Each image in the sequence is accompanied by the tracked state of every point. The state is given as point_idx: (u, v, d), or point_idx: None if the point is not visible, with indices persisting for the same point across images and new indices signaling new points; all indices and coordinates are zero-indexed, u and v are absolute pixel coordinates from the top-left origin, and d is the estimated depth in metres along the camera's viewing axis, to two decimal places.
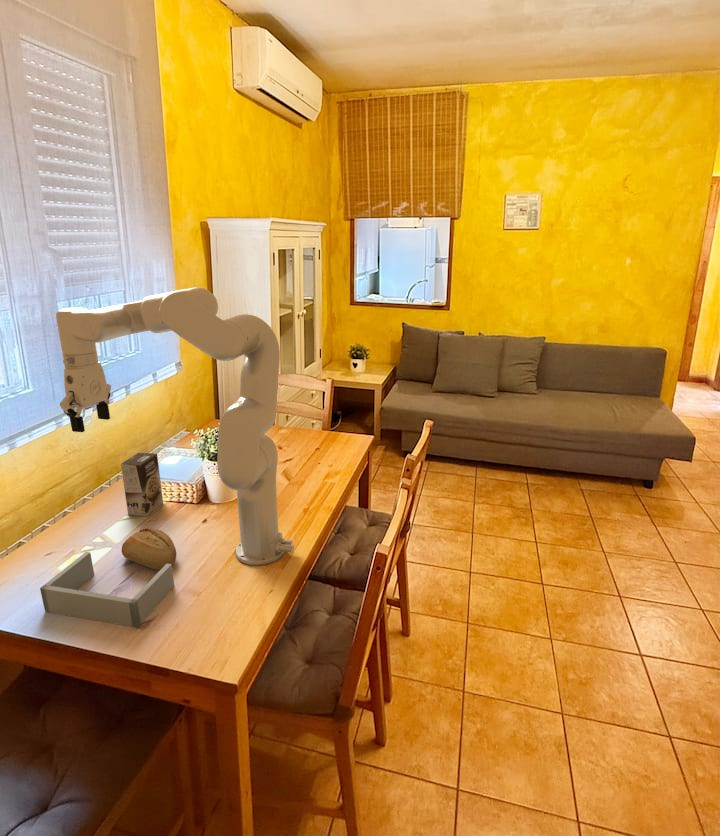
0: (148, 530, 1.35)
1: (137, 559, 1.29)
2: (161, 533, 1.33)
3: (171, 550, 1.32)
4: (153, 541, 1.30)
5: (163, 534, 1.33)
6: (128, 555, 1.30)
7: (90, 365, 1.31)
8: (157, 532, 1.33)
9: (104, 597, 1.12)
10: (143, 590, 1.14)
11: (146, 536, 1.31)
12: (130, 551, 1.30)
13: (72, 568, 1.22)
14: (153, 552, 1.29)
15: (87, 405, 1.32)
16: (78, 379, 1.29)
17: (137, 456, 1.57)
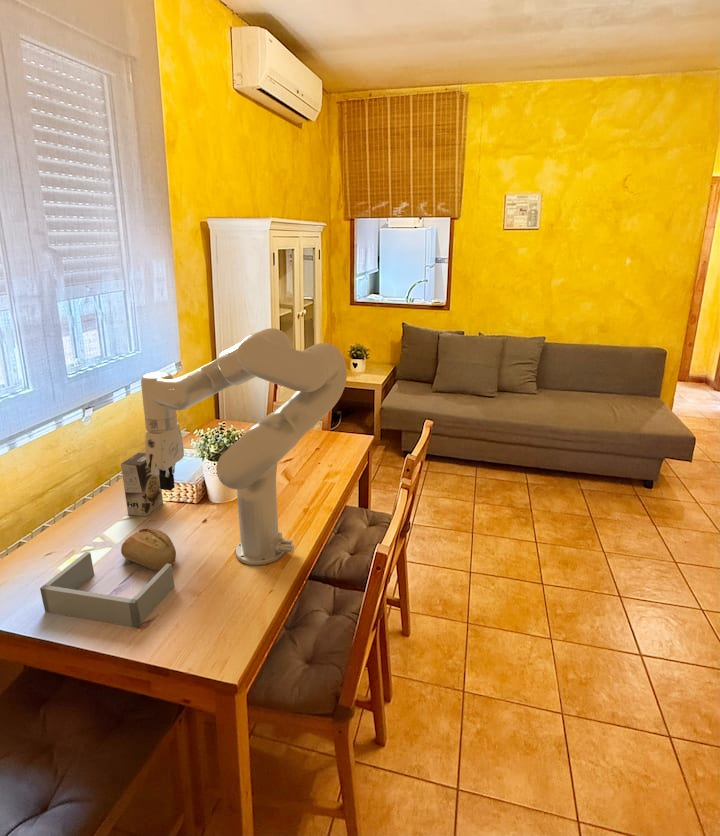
0: (148, 530, 1.35)
1: (136, 559, 1.29)
2: (161, 533, 1.33)
3: (170, 550, 1.32)
4: (152, 541, 1.30)
5: (163, 534, 1.33)
6: (127, 555, 1.30)
7: (171, 429, 1.33)
8: (157, 532, 1.33)
9: (104, 597, 1.12)
10: (143, 590, 1.14)
11: (146, 536, 1.31)
12: (129, 551, 1.30)
13: (72, 568, 1.22)
14: (152, 552, 1.29)
15: (166, 468, 1.34)
16: (159, 443, 1.31)
17: (137, 456, 1.57)
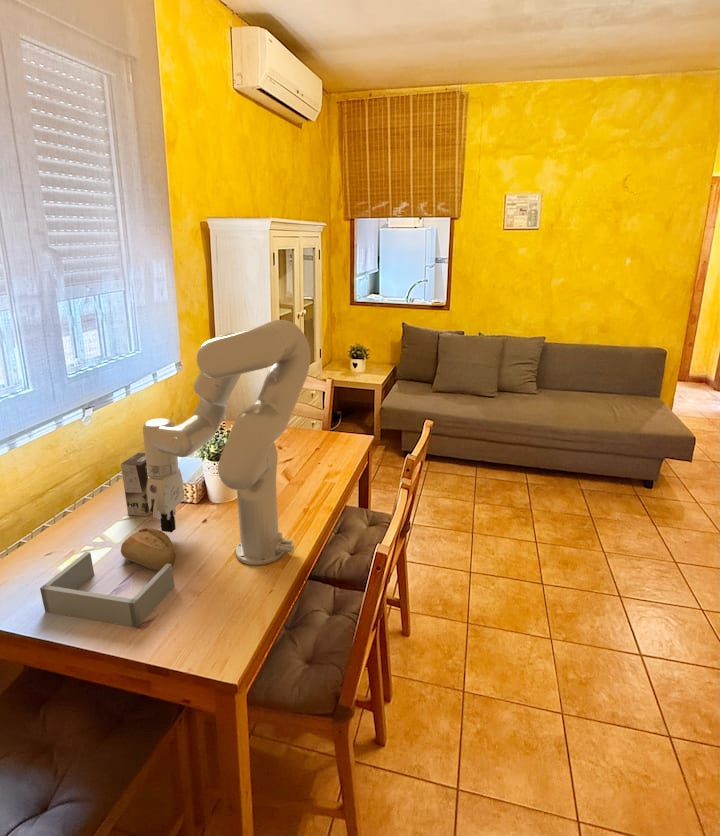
0: (147, 530, 1.35)
1: (136, 559, 1.29)
2: (160, 533, 1.33)
3: (170, 550, 1.32)
4: (152, 541, 1.30)
5: (162, 534, 1.33)
6: (127, 555, 1.30)
7: (172, 474, 1.36)
8: (156, 532, 1.33)
9: (104, 597, 1.12)
10: (143, 590, 1.14)
11: (146, 536, 1.31)
12: (129, 551, 1.30)
13: (72, 568, 1.22)
14: (152, 552, 1.29)
15: (168, 512, 1.37)
16: (161, 489, 1.34)
17: (137, 456, 1.57)
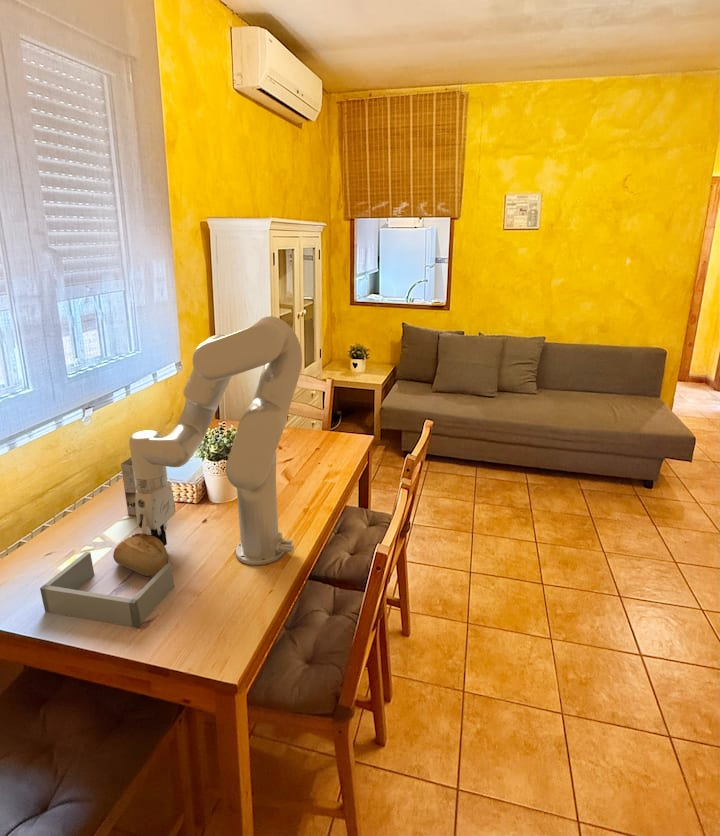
0: (140, 535, 1.32)
1: (128, 565, 1.27)
2: (153, 538, 1.31)
3: (163, 556, 1.29)
4: (145, 547, 1.28)
5: (155, 539, 1.31)
6: (119, 561, 1.28)
7: (161, 488, 1.31)
8: (149, 537, 1.31)
9: (104, 597, 1.12)
10: (143, 590, 1.14)
11: (138, 542, 1.29)
12: (121, 557, 1.27)
13: (72, 568, 1.22)
14: (144, 558, 1.26)
15: (157, 527, 1.32)
16: (150, 503, 1.29)
17: None
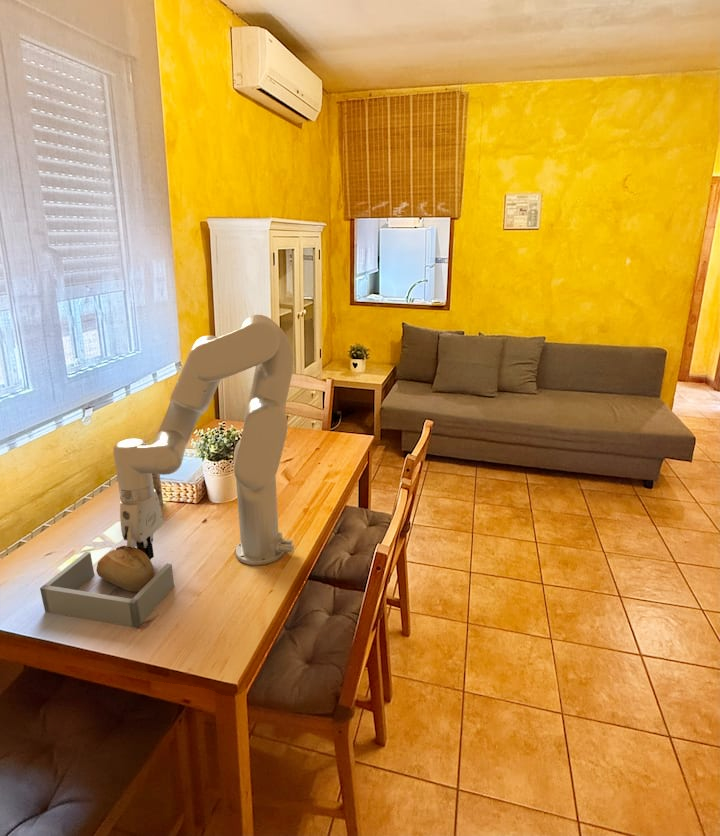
0: (125, 548, 1.27)
1: (111, 580, 1.21)
2: (138, 552, 1.25)
3: (148, 570, 1.23)
4: (128, 561, 1.22)
5: (140, 553, 1.25)
6: (102, 575, 1.23)
7: (147, 499, 1.25)
8: (134, 551, 1.25)
9: (104, 597, 1.12)
10: (143, 590, 1.14)
11: (122, 555, 1.23)
12: (104, 571, 1.22)
13: (72, 568, 1.22)
14: (127, 573, 1.21)
15: (143, 539, 1.27)
16: (135, 515, 1.24)
17: None
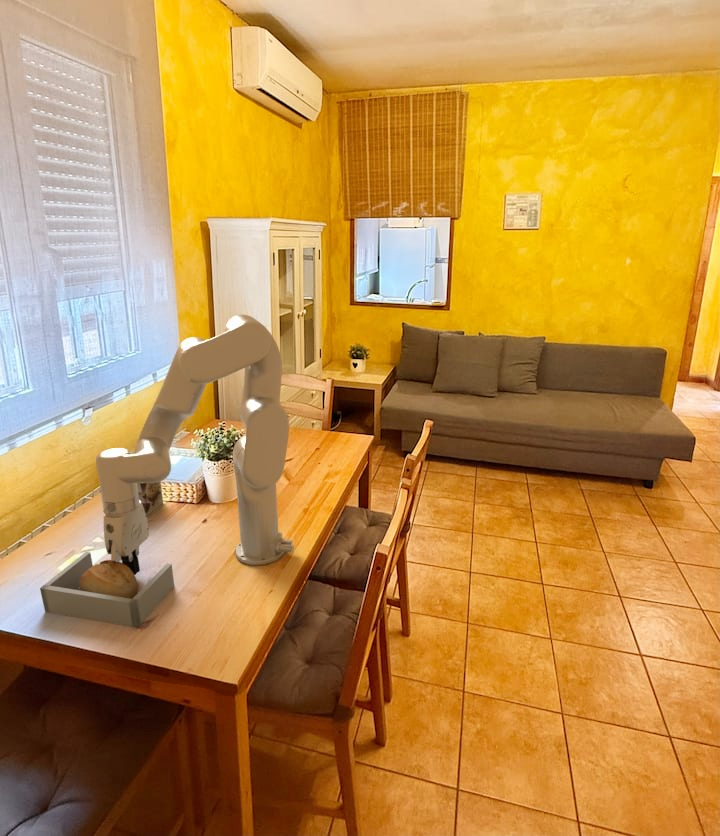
0: (109, 562, 1.21)
1: None
2: (122, 567, 1.20)
3: (131, 587, 1.18)
4: (111, 576, 1.17)
5: (124, 568, 1.20)
6: None
7: (132, 511, 1.20)
8: (117, 565, 1.20)
9: (104, 597, 1.12)
10: (143, 590, 1.14)
11: (104, 570, 1.18)
12: (85, 587, 1.17)
13: (72, 568, 1.22)
14: (109, 589, 1.15)
15: (128, 553, 1.21)
16: (119, 528, 1.18)
17: None
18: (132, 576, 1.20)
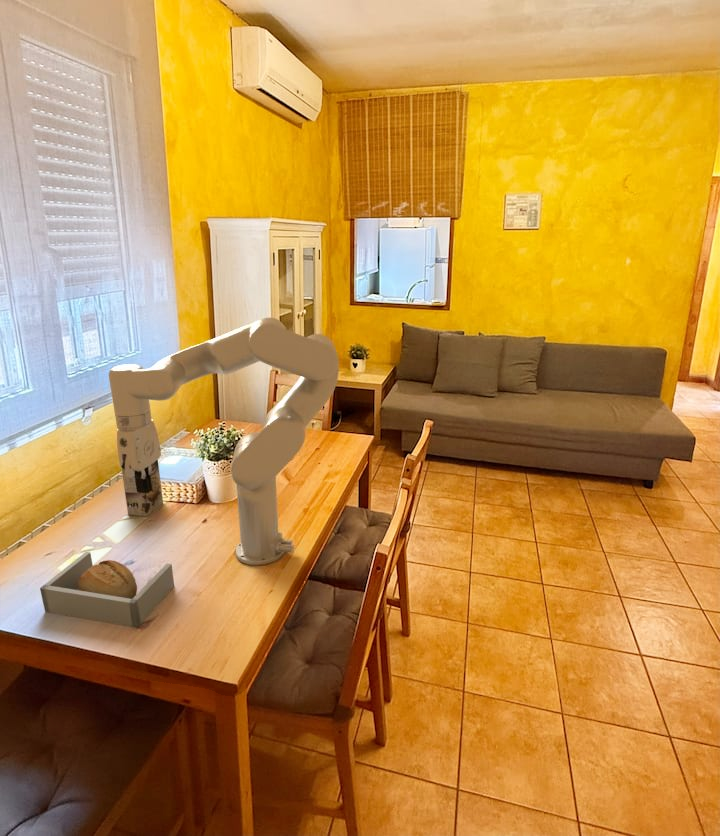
0: (108, 563, 1.21)
1: None
2: (120, 567, 1.20)
3: (130, 587, 1.18)
4: (109, 577, 1.17)
5: (122, 569, 1.19)
6: None
7: (144, 426, 1.22)
8: (116, 566, 1.20)
9: (104, 597, 1.12)
10: (143, 590, 1.14)
11: (103, 571, 1.18)
12: (84, 587, 1.17)
13: (72, 568, 1.22)
14: (107, 590, 1.15)
15: (141, 468, 1.23)
16: (132, 442, 1.20)
17: None
18: (131, 577, 1.19)
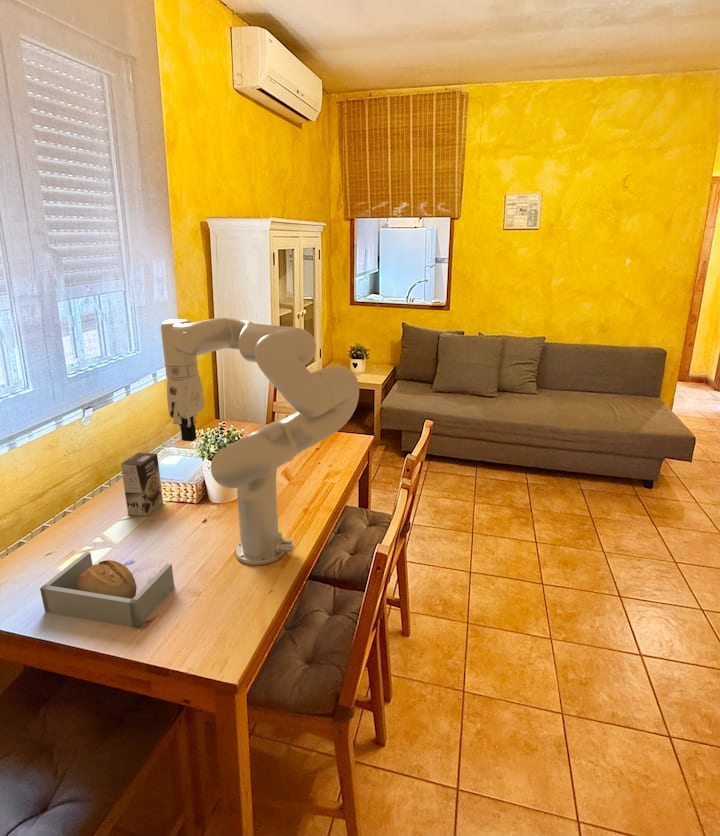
0: (107, 563, 1.21)
1: None
2: (120, 567, 1.20)
3: (129, 587, 1.18)
4: (109, 577, 1.17)
5: (122, 569, 1.19)
6: None
7: (192, 376, 1.31)
8: (116, 566, 1.20)
9: (104, 597, 1.12)
10: (143, 590, 1.14)
11: (103, 571, 1.18)
12: (84, 587, 1.17)
13: (72, 568, 1.22)
14: (107, 590, 1.15)
15: (188, 416, 1.32)
16: (182, 390, 1.30)
17: (137, 456, 1.57)
18: (130, 577, 1.19)
